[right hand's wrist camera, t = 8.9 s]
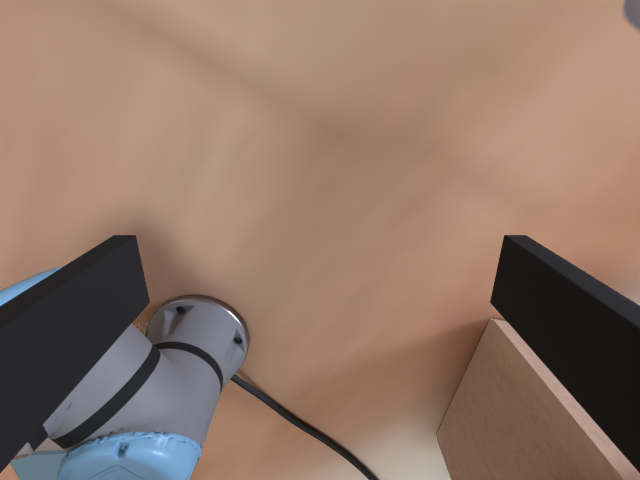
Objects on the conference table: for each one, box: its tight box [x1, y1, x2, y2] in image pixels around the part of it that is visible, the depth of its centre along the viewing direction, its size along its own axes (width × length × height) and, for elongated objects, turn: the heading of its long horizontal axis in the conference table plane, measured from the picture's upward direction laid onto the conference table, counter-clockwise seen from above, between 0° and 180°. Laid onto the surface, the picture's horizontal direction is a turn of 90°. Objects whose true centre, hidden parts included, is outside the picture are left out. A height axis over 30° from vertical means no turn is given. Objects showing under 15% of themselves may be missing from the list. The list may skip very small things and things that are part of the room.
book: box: [10, 438, 67, 480], centre depth 61 cm, size 23×16×5 cm
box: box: [436, 318, 640, 480], centre depth 44 cm, size 44×36×27 cm
